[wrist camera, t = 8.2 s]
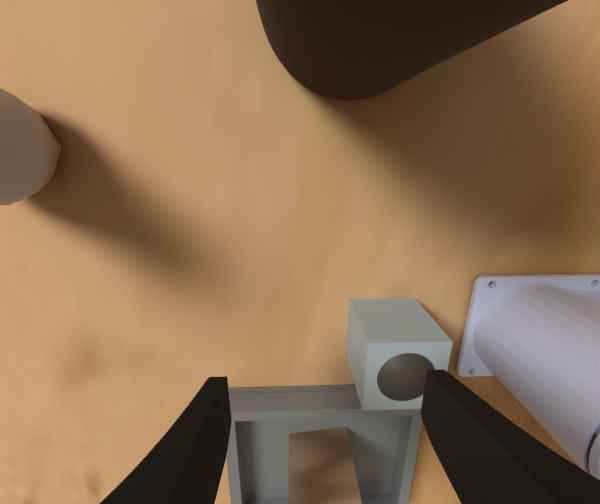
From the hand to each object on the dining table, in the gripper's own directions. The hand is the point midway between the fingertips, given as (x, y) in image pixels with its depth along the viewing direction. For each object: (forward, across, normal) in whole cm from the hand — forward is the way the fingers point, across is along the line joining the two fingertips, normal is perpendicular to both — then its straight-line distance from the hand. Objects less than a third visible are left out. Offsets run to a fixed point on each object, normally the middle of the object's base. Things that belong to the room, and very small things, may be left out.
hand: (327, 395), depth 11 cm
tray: (+9, -1, +14) cm, 17 cm away
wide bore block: (+10, -5, +3) cm, 11 cm away
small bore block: (+9, -1, +14) cm, 17 cm away
